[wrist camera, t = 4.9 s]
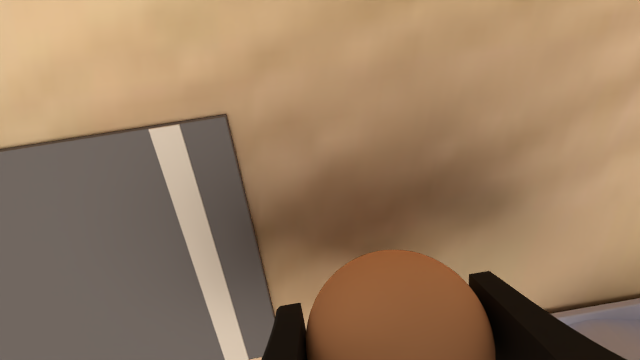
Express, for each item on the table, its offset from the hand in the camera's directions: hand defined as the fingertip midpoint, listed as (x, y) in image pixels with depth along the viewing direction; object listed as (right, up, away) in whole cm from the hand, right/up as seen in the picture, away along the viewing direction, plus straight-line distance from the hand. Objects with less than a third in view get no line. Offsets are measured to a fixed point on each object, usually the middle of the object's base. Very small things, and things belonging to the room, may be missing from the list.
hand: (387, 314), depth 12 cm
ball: (0, +1, +1) cm, 1 cm away
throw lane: (-11, 0, +4) cm, 11 cm away
